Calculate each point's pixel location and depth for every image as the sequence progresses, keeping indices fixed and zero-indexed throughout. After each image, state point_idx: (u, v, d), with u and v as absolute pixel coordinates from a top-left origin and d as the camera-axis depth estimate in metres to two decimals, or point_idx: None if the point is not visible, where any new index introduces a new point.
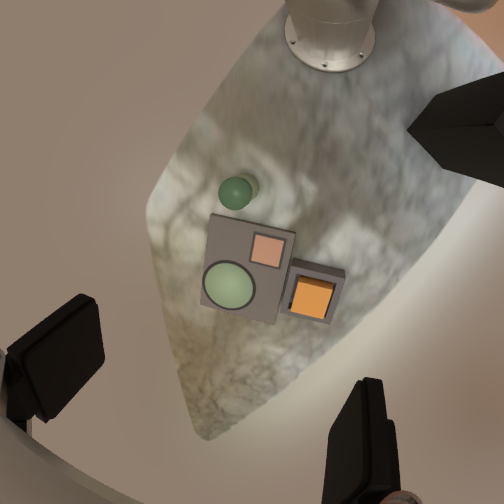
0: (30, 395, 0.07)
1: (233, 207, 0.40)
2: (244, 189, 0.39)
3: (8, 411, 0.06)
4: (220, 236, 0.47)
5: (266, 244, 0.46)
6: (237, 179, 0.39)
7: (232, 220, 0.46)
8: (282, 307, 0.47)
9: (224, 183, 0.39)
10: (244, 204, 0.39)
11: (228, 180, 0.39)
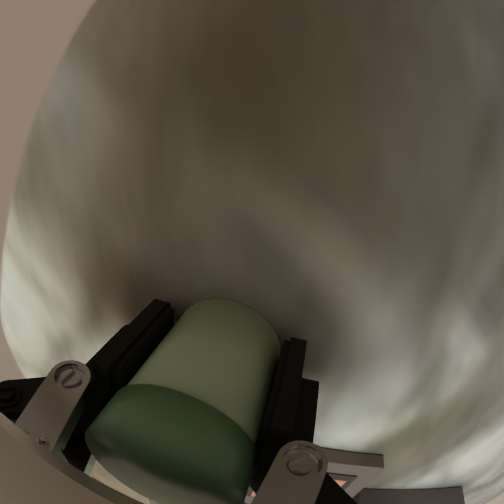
0: None
1: None
2: (209, 486, 0.05)
3: (78, 428, 0.07)
4: None
5: None
6: (159, 446, 0.05)
7: None
8: None
9: (98, 435, 0.05)
10: None
11: (111, 433, 0.05)
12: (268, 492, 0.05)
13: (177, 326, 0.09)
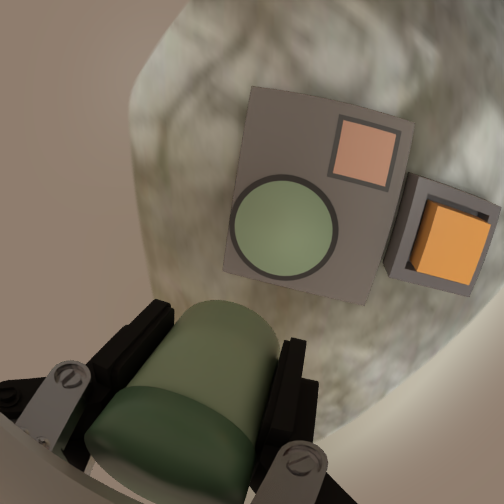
0: None
1: None
2: (208, 488, 0.05)
3: (78, 428, 0.07)
4: (270, 126, 0.23)
5: (364, 139, 0.21)
6: (158, 448, 0.05)
7: (296, 94, 0.21)
8: (395, 266, 0.22)
9: (97, 437, 0.05)
10: None
11: (111, 435, 0.05)
12: (268, 492, 0.05)
13: (176, 327, 0.09)
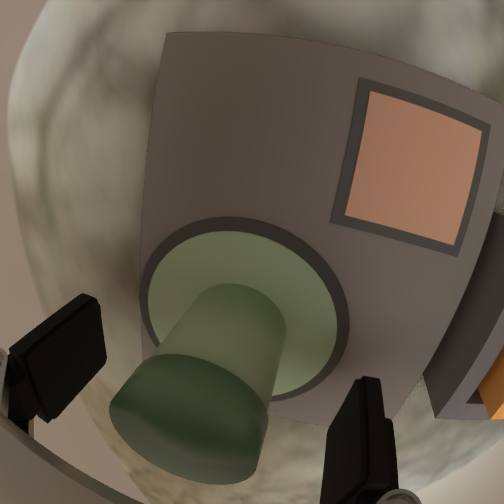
0: (32, 395, 0.07)
1: (185, 474, 0.07)
2: (227, 446, 0.06)
3: (10, 411, 0.06)
4: (202, 109, 0.10)
5: (417, 138, 0.08)
6: (184, 405, 0.06)
7: (259, 37, 0.09)
8: (451, 402, 0.09)
9: (124, 402, 0.07)
10: (230, 479, 0.07)
11: (139, 397, 0.06)
12: None
13: (192, 307, 0.11)
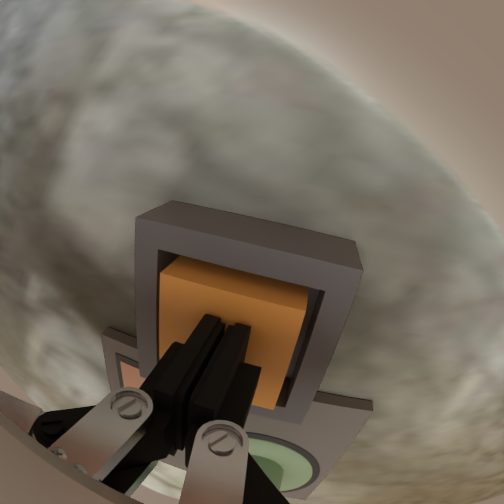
0: (173, 432, 0.07)
1: None
2: None
3: None
4: None
5: None
6: None
7: None
8: (281, 418, 0.13)
9: None
10: None
11: None
12: (196, 476, 0.05)
13: None
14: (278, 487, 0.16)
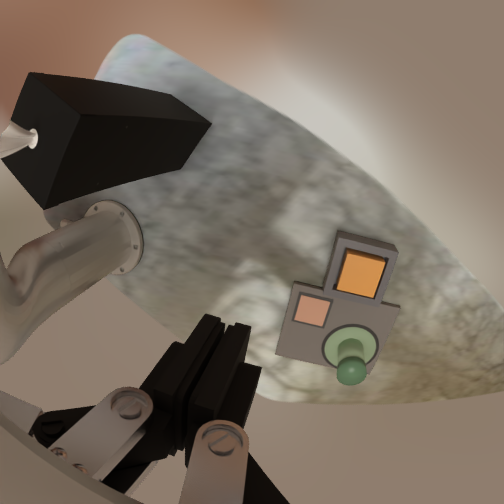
0: (173, 432, 0.07)
1: (363, 375, 0.38)
2: (348, 367, 0.38)
3: None
4: (296, 349, 0.46)
5: (304, 311, 0.43)
6: (338, 371, 0.39)
7: (280, 337, 0.46)
8: (372, 304, 0.39)
9: (340, 380, 0.39)
10: (362, 367, 0.38)
11: (338, 377, 0.39)
12: (196, 476, 0.05)
13: None
14: (363, 352, 0.42)
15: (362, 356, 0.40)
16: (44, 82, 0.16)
